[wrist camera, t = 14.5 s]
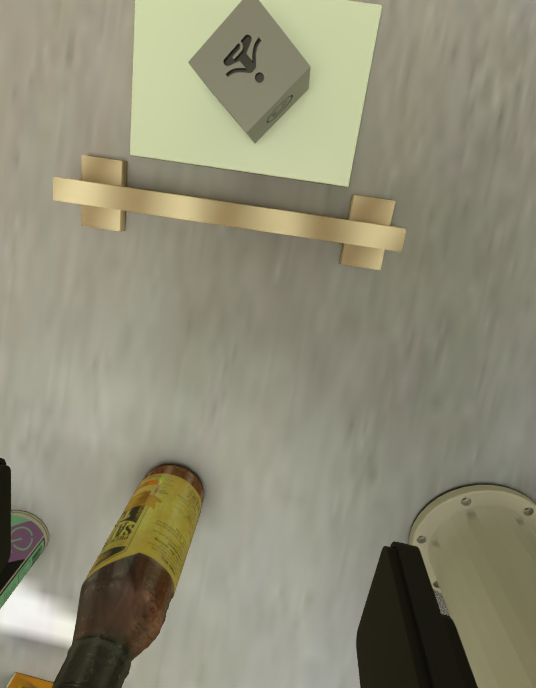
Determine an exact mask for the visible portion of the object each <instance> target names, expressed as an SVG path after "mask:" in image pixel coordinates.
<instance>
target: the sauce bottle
mask: <svg viewBox="0 0 536 688" xmlns="http://www.w3.org/2000/svg"><path fill="white" fill-rule="evenodd" d="M202 502H203V491H202V486H201V483H200V481H199V480H198V478H197V477H196V476H195V475H194V474H193V473H191V472H190V471H189V470H187V469H184V468H183V467H179V466H176V465H164V466H160V467H158V468H156V469H154V470H152V471H151V472H150V473H149V474H147V475H146V477H145V478H144V479H143V480H142V482H141V483H140V484H139V485H138V487H137V489H136V490H135V492H134V494H133V496H132V498H131V499H130V501H129V503H128V504H127V506H126V508H125V510H124V512H123V513H122V515H121V517H120V519H119V520H118V522H117V524H116V525H115V528H114V530H113V531H112V533H111V535H110V537H109V538H108V540H107V542H106V543H105V545H104V547H103V549H102V551H101V553H100V555H99V556H98V558H97V560H96V562H95V563H94V565H93V567H92V569H91V570H90V572H89V574H88V576H87V578H86V580H85V581H84V583H83V585H82V588H81V592H80V599H79V606H78V613H77V619H76V625H75V631H74V636H73V642H72V646H71V647H70V649H69V650H68V653H67V657H66V659H65V662H64V664H63V665H62V667H61V669H60V671H59V673H58V675H57V677H56V679H55V681H54V683H53V686H52V688H121V687H122V685H123V682H124V679H125V678H126V677H127V675H128V674H129V670H130V666H131V661H132V660H133V659H134V658H135V657H137V656H138V655H139V654H140V653H141V652H142V651H143V650H145V649H146V648H148V647H149V645H150V644H151V643H152V642H153V641H154V640H155V639H156V637H157V636H158V634H159V633H160V630H161V627H162V625H163V623H164V621H165V617H166V612H167V610H168V607H169V603H170V601H171V599H172V598H173V596H174V593H175V590H176V587H177V584H178V581H179V578H180V575H181V572H182V569H183V566H184V562H185V559H186V556H187V553H188V550H189V547H190V544H191V541H192V538H193V535H194V532H195V529H196V525H197V522H198V519H199V516H200V512H201V506H202Z"/></svg>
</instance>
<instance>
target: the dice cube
mask: <svg viewBox="0 0 536 688" xmlns="http://www.w3.org/2000/svg"><path fill="white" fill-rule="evenodd" d="M188 63H189V64H190V66H191V67H192V68H193V70H194V71H195V72H196V73H197V75H198V76H199V77H200V79H201V80H202V81H203V83H204V84H205V85H206V86H207V88H208V89H209V90H210V91H211V92H212V93H213V95H214V96H215V97H216V98H217V99H218V101H219V102H220V103H221V104H222V105H223V107H224V108H225V109H226V110H227V111H228V112H229V114H230V115H231V116H232V117H233V118H234V120H235V121H236V122H237V123H238V124H239V126H240V127H241V128H242V129H243V130H244V131H245V133H246V134H247V135H248V136H249V137H250V139H251V140H252V141H253V142H254V143H256V142H257V141H258V140H259V139H260V138H261V137H262V136H263V135H264V134H265V133H266V132H267V131H268V130H269V129H270V128H271V127H272V126H273V125H274V124H275V123H276V122H277V121H278V120H279V119H280V118H281V117H282V116H283V115H284V114H285V113H286V112H287V111H288V110H289V109H290V108H291V107H292V106H293V104H294V103H295V102H296V101H297V100H298V99H299V98H300V97H301V96H302V95H303V94H304V93H305V92H306V91H307V90H308V89H309V79H310V68H311V66H310V65H309V64H308V62H307V61H306V60H305V59H304V57H303V56H302V55H301V53H300V52H299V51H298V50H297V48H296V47H295V46H294V44H293V43H292V42H291V41H290V39H289V38H288V37H287V35H286V34H285V33H284V32H283V30H282V29H281V28H280V26H279V25H278V24H277V23H276V21H275V20H274V19H273V18H272V16H271V15H270V14H269V12H268V11H267V10H266V9H265V7H264V6H263V5H262V3H261V2H260V1H259V0H242V1H241V2H240V3H239V4H238V5H237V7H236V8H235V9H234V10H233V11H232V12H231V13H230V15H229V16H228V17H227V18H226V19H225V20H224V21H223V23H222V24H221V25H220V26H219V27H218V28H217V30H216V31H215V32H214V33H213V34H212V35H211V36H210V38H209V39H208V40H207V41H206V42H205V43H204V44H203V46H202V47H201V48H200V49H199V50H198V51H197V52H196V54H195V55H194V56H193V57H192V58H191V59H190V60H189V62H188Z"/></svg>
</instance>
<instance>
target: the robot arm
mask: <svg viewBox="0 0 536 688" xmlns="http://www.w3.org/2000/svg"><path fill="white" fill-rule="evenodd" d="M10 555H11V469H10V467H9V466H6V462H5V460H4V459H2V458H0V572H1V571H2V570H3V569H4V568H5V566H6V565H7V563H8V561H9V558H10ZM433 590H435V591H437V592H439V593H441V594H442V596H443V598H444V601H445V604H446V606H447V609H448V612H449V614H450V616H447V615H442V614H441V612H440V609H439V606H438V603H437V600H436V597H435V594H434V591H433ZM356 648H357V658H358V667H359V676H360V686H361V688H536V504H535V503H534V502H533V501H532V500H531V499H529V498H528V497H527V496H525V495H523V494H521V493H519V492H518V491H515V490H512V489H509V488H506V487H502V486H495V485H474V486H467V487H462V488H459V489H456V490H453V491H450V492H448V493H446V494H444V495H442V496H440V497H438V498H437V499H436V500H434V501H433V502H431V503H430V504H429V505H428V506H427V507H426V508H425V509H424V510H423V511H422V512H421V513H420V514H419V516H418V517H417V519H416V520H415V522H414V524H413V526H412V529H411V532H410V536H409V544H404V543H399V542H392V544H391V546H390V547H387V546H384V547H383V549H382V552H381V555H380V558H379V562H378V565H377V568H376V571H375V575H374V578H373V581H372V584H371V588H370V591H369V594H368V597H367V601H366V604H365V607H364V611H363V614H362V617H361V620H360V624H359V627H358V631H357V639H356Z"/></svg>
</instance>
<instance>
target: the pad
mask: <svg viewBox="0 0 536 688" xmlns="http://www.w3.org/2000/svg"><path fill="white" fill-rule="evenodd" d="M241 1H242V0H135V27H134V56H133V84H132V113H131V142H130V155H132V156H138V157H144V158H151V159H158V160H165V161H172V162H179V163H186V164H192V165H199V166H206V167H213V168H220V169H227V170H233V171H240V172H247V173H254V174H261V175H268V176H274V177H281V178H288V179H295V180H302V181H309V182H316V183H322V184H329V185H336V186H343V187H348V185H349V180H350V175H351V169H352V164H353V159H354V153H355V148H356V143H357V137H358V132H359V127H360V121H361V116H362V110H363V105H364V100H365V94H366V89H367V84H368V78H369V73H370V68H371V62H372V57H373V52H374V46H375V41H376V36H377V30H378V25H379V20H380V14H381V9H382V5H377V4H370V3H362V2H355V1H348V0H259V1H260V2H261V3H262V5H263V6H264V7H265V9H266V10H267V11H268V12H269V14H270V15H271V16H272V18H273V19H274V20H275V21H276V23H277V24H278V25H279V26H280V28H281V29H282V30H283V32H284V33H285V34H286V35H287V37H288V38H289V39H290V41H291V42H292V43H293V44H294V46H295V47H296V48H297V50H298V51H299V52H300V53H301V55H302V56H303V57H304V59H305V60H306V61H307V62H308V64H309V65H310V66H311V68H310V79H309V89H308V90H307V91H306V92H305V93H304V94H303V95H302V96H301V97H300V98H299V99H298V100H297V101H296V102H295V103H294V104H293V106H292V107H291V108H290V109H289V110H288V111H287V112H286V113H285V114H284V115H283V116H282V117H281V118H280V119H279V120H278V121H277V122H276V123H275V124H274V125H273V126H272V127H271V128H270V129H269V130H268V131H267V132H266V133H265V134H264V135H263V136H262V137H261V138H260V139H259V140H258V141H257V142H256V143H254V142H253V141H252V140H251V139H250V137H249V136H248V135H247V134H246V133H245V131H244V130H243V129H242V128H241V127H240V126H239V124H238V123H237V122H236V121H235V120H234V118H233V117H232V116H231V115H230V114H229V112H228V111H227V110H226V109H225V108H224V107H223V105H222V104H221V103H220V102H219V101H218V99H217V98H216V97H215V96H214V95H213V93H212V92H211V91H210V90H209V89H208V88H207V86H206V85H205V84H204V83H203V81H202V80H201V79H200V77H199V76H198V75H197V73H196V72H195V71H194V70H193V68H192V67H191V66H190V64H189V63H188V62H189V60H190V59H191V58H192V57H193V56H194V55H195V54H196V52H197V51H198V50H199V49H200V48H201V47H202V46H203V44H204V43H205V42H206V41H207V40H208V39H209V38H210V36H211V35H212V34H213V33H214V32H215V31H216V30H217V28H218V27H219V26H220V25H221V24H222V23H223V21H224V20H225V19H226V18H227V17H228V16H229V15H230V13H231V12H232V11H233V10H234V9H235V8H236V7H237V5H238V4H239V3H240V2H241Z"/></svg>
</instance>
